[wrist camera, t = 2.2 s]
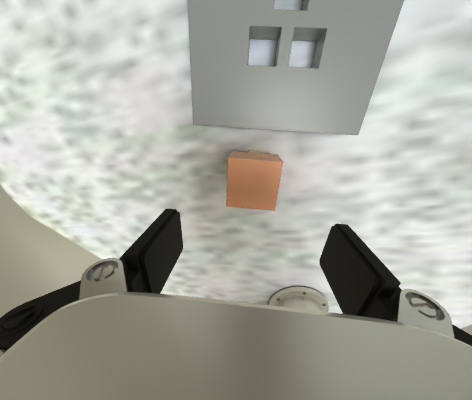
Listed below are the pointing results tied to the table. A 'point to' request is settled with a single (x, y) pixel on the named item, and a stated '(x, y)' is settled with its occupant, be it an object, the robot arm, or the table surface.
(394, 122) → the table surface
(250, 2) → the socket
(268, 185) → the plug
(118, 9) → the table surface
